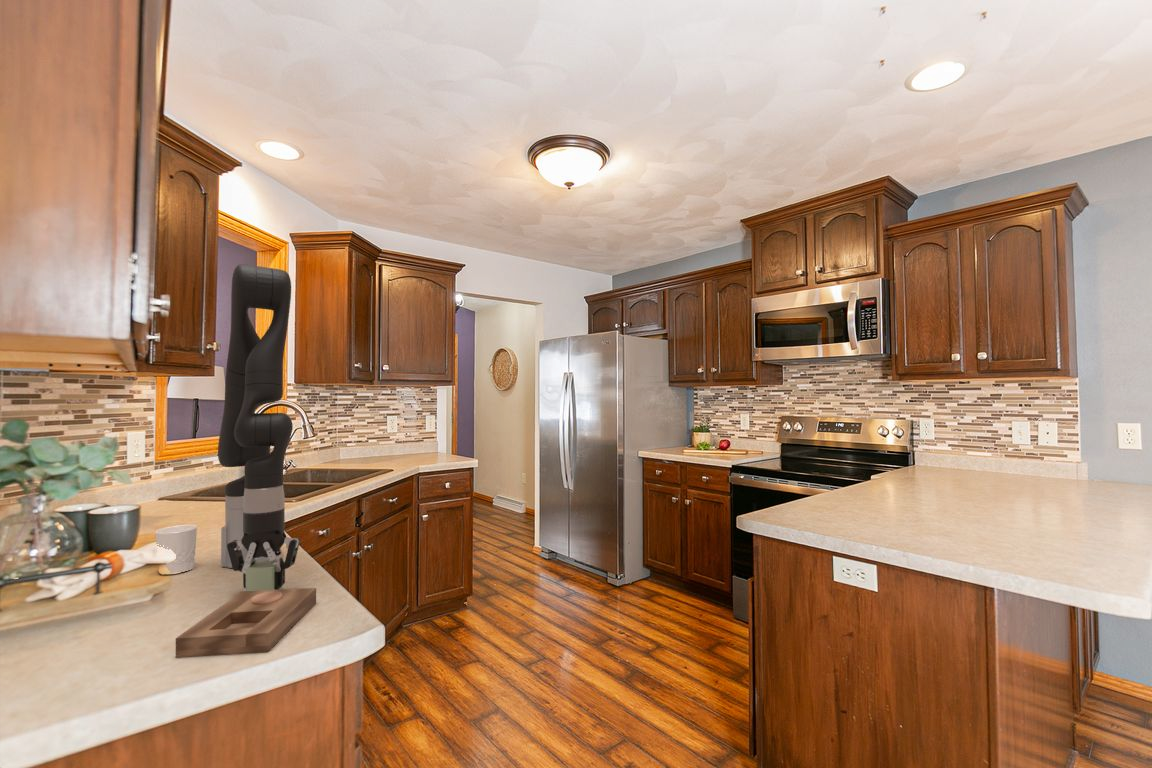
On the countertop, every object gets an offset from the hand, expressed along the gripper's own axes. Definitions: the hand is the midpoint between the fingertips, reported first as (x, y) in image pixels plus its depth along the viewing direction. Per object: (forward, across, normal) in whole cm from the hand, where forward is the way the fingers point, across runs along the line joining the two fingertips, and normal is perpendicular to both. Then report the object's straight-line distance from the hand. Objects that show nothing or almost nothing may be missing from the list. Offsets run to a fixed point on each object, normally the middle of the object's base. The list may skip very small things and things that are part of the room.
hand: (264, 588), depth 111 cm
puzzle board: (+1, -6, +17) cm, 18 cm away
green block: (+1, 0, 0) cm, 1 cm away
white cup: (+1, +28, -18) cm, 33 cm away
